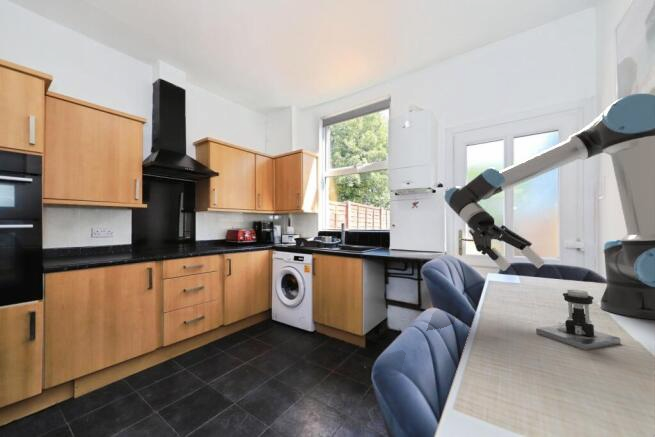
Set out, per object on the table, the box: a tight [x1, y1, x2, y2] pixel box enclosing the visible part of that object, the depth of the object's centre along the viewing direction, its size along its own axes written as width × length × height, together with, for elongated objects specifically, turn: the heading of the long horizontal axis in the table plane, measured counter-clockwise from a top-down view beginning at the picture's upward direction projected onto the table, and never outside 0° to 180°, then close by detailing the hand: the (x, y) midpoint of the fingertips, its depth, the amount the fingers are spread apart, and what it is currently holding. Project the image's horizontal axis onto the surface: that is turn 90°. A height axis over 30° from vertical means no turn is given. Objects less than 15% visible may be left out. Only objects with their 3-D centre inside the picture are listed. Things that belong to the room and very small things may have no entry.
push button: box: [557, 289, 595, 337], centre depth 62 cm, size 7×5×10 cm
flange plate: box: [535, 324, 622, 351], centre depth 62 cm, size 12×10×1 cm
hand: (524, 266), depth 73 cm, fingers open, 13 cm apart
